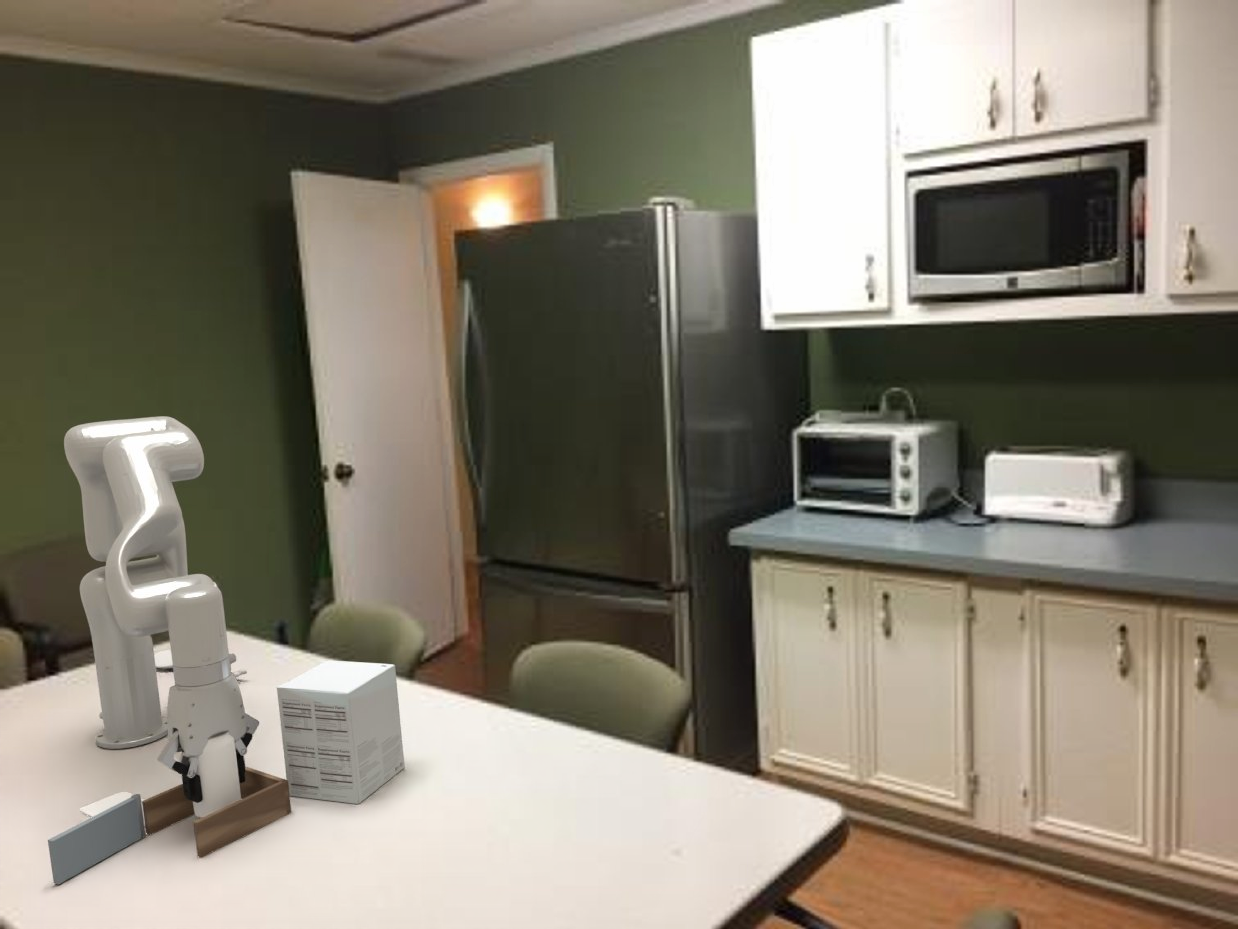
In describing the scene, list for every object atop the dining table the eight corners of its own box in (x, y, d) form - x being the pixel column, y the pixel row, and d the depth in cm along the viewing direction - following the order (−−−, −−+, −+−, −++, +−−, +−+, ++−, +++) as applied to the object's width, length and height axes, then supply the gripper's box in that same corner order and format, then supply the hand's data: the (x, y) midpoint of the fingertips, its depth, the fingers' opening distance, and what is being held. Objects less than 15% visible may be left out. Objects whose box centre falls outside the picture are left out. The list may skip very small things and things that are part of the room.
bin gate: (141, 834, 147) (136, 793, 146) (147, 835, 147) (142, 794, 146) (53, 883, 135) (47, 839, 134) (59, 885, 134) (53, 840, 133)
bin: (146, 834, 147) (141, 801, 147) (236, 792, 159) (232, 762, 159) (200, 857, 140) (196, 823, 139) (291, 812, 151) (288, 780, 151)
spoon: (208, 697, 205) (206, 680, 205) (141, 667, 227) (139, 652, 226) (250, 683, 211) (248, 667, 211) (181, 656, 233) (180, 641, 233)
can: (225, 821, 146) (216, 741, 144) (185, 819, 147) (175, 740, 145) (250, 800, 152) (241, 723, 150) (211, 798, 153) (202, 722, 151)
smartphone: (123, 790, 162) (174, 812, 153) (124, 795, 162) (175, 817, 153) (76, 809, 156) (126, 833, 147) (77, 814, 156) (127, 838, 147)
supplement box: (337, 760, 169) (326, 658, 167) (406, 768, 165) (396, 663, 163) (285, 796, 157) (274, 687, 155) (359, 805, 153) (348, 692, 150)
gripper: (239, 650, 156) (251, 762, 158) (130, 686, 142) (145, 809, 144) (270, 657, 151) (282, 772, 154) (160, 695, 137) (175, 821, 140)
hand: (216, 789), depth 149 cm, fingers closed on can, 6 cm apart
